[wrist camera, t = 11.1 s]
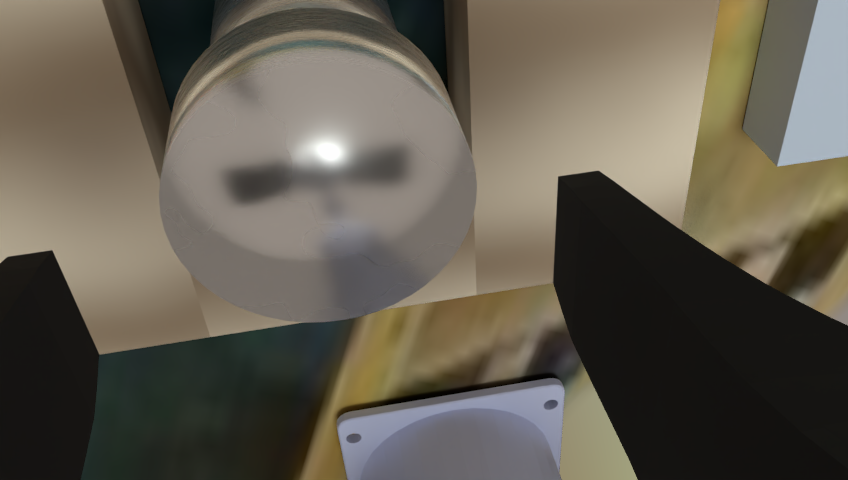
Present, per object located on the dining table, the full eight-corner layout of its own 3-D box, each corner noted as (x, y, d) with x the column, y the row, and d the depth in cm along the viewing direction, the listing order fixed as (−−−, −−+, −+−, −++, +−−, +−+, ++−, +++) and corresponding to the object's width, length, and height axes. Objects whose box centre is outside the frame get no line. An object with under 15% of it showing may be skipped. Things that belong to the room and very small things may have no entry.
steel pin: (413, 92, 21) (480, 297, 15) (218, 119, 20) (201, 342, 14) (397, -111, 18) (473, 41, 12) (167, -84, 17) (116, 87, 11)
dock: (635, 200, 24) (675, 263, 22) (17, 293, 23) (-11, 371, 20) (706, -390, 16) (786, -391, 13) (-286, -306, 14) (-395, -290, 12)
